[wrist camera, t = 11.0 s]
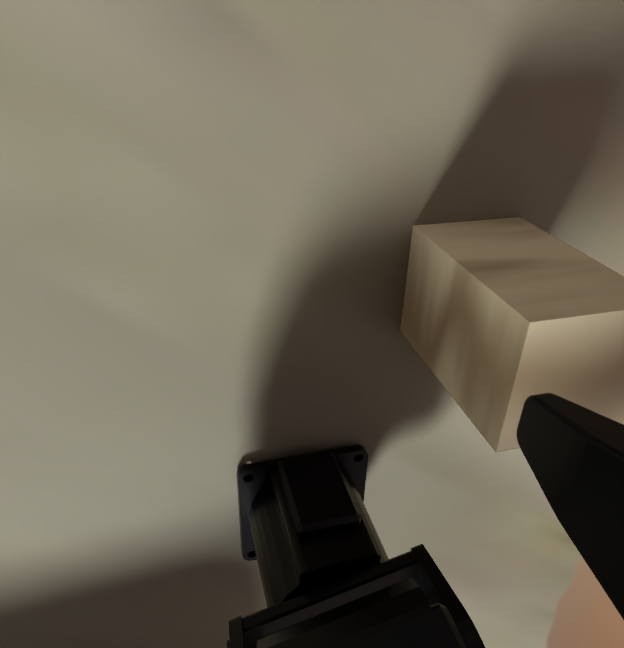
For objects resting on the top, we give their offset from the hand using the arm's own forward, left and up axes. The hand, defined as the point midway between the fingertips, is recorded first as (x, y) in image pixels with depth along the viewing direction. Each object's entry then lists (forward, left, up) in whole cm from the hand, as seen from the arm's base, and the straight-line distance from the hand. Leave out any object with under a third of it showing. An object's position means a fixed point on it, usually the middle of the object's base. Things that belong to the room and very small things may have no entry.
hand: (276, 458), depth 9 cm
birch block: (-4, -11, -13) cm, 18 cm away
